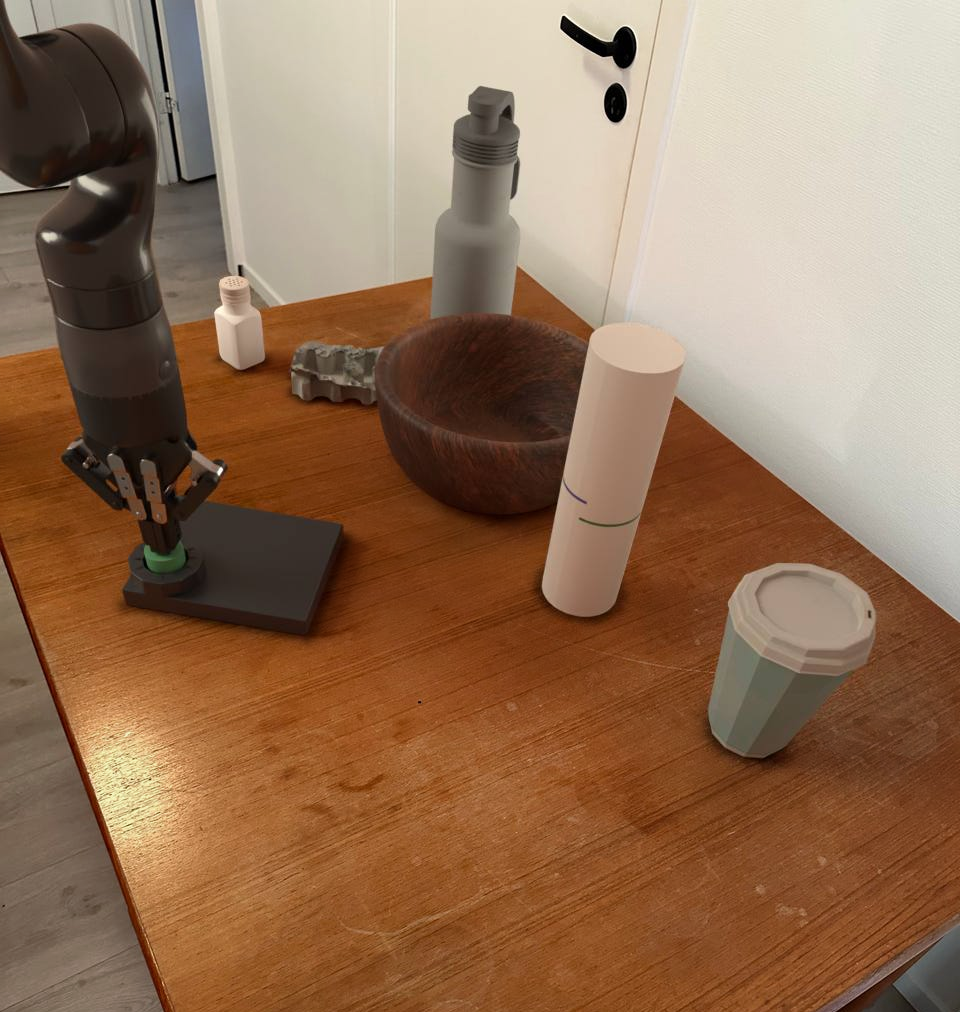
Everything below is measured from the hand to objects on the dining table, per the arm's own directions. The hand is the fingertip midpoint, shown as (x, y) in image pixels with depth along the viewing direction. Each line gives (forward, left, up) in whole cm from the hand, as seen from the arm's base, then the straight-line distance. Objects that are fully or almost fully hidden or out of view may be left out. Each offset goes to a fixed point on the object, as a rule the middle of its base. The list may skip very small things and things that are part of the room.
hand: (164, 547), depth 76 cm
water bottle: (+19, +50, -5) cm, 53 cm away
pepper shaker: (-6, +38, -5) cm, 38 cm away
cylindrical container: (+36, +9, -5) cm, 37 cm away
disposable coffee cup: (+51, -4, -5) cm, 51 cm away
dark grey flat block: (+5, +4, -5) cm, 8 cm away
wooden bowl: (+25, +27, -5) cm, 37 cm away
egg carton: (+6, +36, -5) cm, 36 cm away
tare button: (0, 0, -2) cm, 2 cm away
